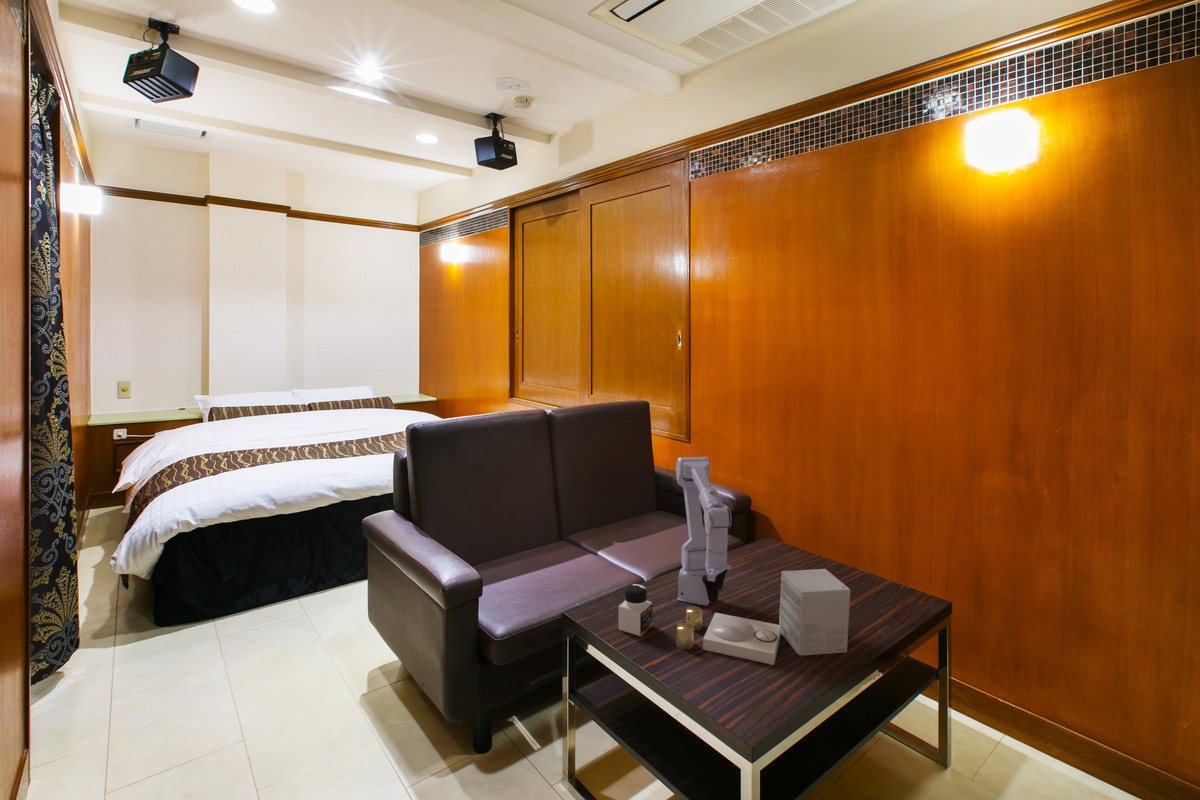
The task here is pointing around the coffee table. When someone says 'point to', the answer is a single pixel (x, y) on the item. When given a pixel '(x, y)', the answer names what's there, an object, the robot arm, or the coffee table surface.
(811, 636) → the supplement box
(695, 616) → the cylinder
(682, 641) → the cylinder
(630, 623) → the medicine bottle
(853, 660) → the coffee table surface
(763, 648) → the scale
